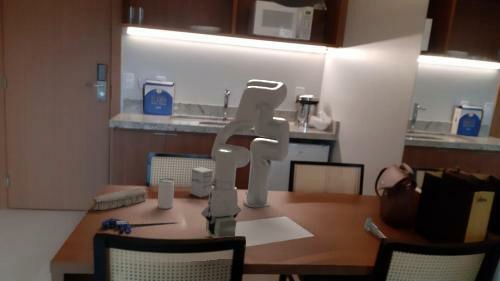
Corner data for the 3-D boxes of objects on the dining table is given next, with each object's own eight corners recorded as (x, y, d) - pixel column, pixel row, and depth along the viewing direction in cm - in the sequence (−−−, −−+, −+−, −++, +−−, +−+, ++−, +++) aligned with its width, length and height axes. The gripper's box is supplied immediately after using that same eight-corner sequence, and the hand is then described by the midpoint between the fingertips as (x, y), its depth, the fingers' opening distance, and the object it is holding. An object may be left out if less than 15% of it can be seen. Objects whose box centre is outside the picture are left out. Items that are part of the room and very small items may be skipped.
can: (154, 207, 161) (156, 180, 159) (161, 202, 168) (163, 177, 165) (168, 210, 160) (170, 183, 158) (175, 205, 166) (176, 179, 164)
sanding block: (205, 230, 140) (207, 210, 139) (220, 228, 143) (222, 208, 141) (218, 244, 130) (220, 222, 128) (234, 242, 133) (236, 221, 131)
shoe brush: (98, 213, 150) (98, 201, 149) (89, 207, 155) (89, 196, 154) (149, 201, 169) (149, 190, 168) (139, 196, 173) (140, 186, 172)
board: (222, 227, 148) (222, 223, 148) (285, 219, 163) (285, 216, 162) (245, 250, 131) (246, 246, 131) (313, 239, 145) (314, 235, 145)
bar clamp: (102, 229, 131) (101, 218, 140) (102, 236, 131) (100, 224, 140) (192, 225, 145) (185, 215, 154) (191, 231, 145) (185, 221, 154)
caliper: (364, 229, 161) (366, 216, 160) (366, 229, 161) (368, 215, 160) (395, 252, 142) (398, 237, 141) (397, 252, 142) (400, 237, 141)
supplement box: (189, 193, 183) (191, 168, 181) (200, 190, 189) (202, 166, 187) (200, 197, 179) (202, 172, 177) (211, 194, 185) (213, 169, 183)
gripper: (205, 188, 125) (201, 239, 129) (250, 185, 134) (245, 232, 137) (197, 182, 132) (193, 230, 135) (241, 179, 140) (236, 224, 143)
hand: (220, 231), depth 136 cm, fingers closed on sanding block, 6 cm apart
